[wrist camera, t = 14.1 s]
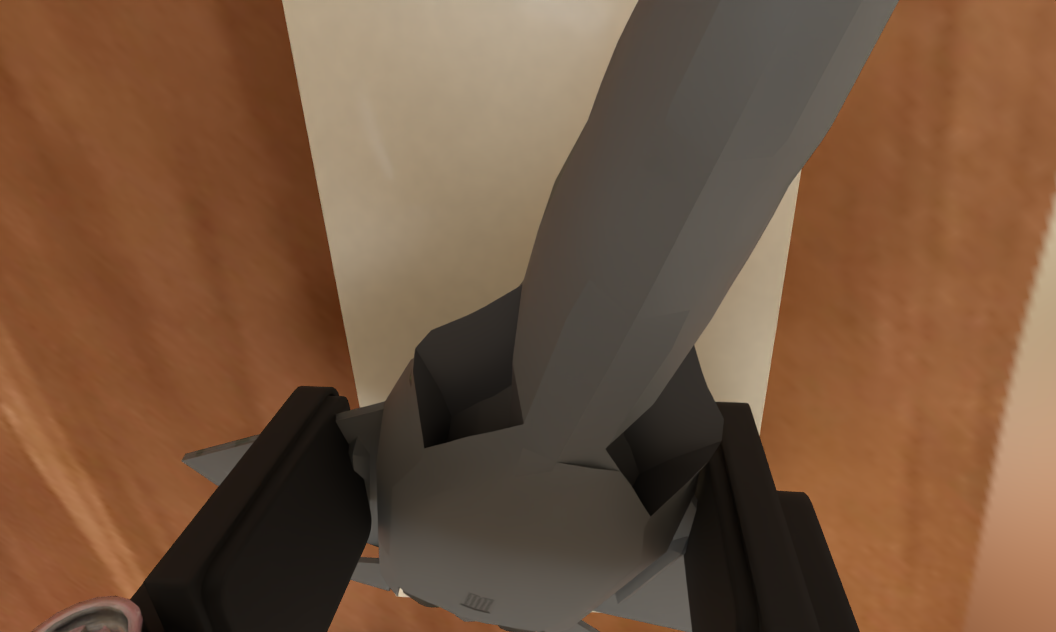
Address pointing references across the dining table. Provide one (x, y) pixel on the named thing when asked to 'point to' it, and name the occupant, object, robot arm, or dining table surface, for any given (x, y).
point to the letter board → (474, 169)
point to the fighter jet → (601, 332)
